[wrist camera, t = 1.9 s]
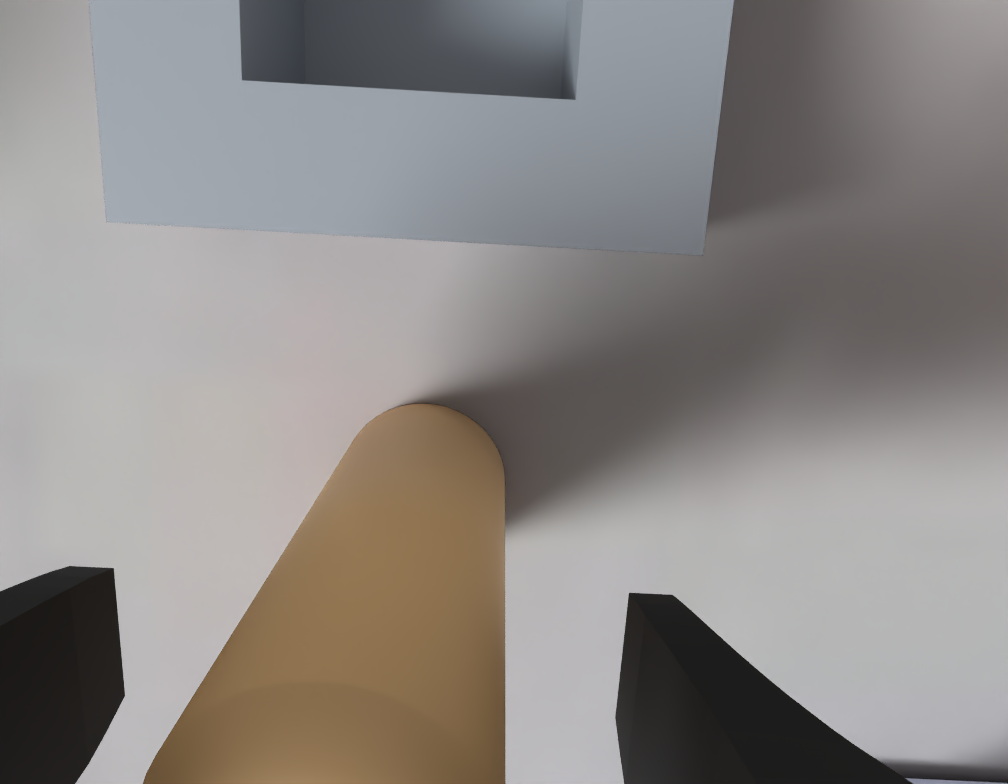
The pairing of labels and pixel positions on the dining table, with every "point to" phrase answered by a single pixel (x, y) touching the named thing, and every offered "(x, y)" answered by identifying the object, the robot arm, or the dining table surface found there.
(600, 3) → the socket block
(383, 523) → the peg
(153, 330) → the dining table surface
